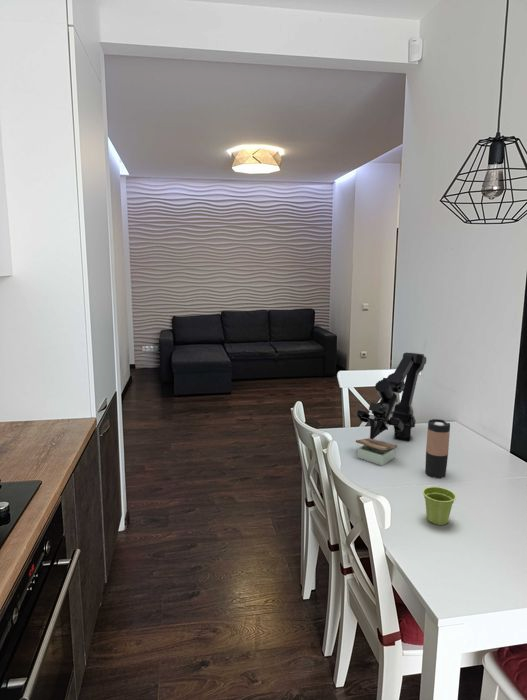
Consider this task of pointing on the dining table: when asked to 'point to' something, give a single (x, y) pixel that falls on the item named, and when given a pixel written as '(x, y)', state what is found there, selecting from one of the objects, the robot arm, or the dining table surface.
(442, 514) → the plant pot
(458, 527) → the dining table surface
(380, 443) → the lid
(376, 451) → the pale green open box
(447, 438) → the travel mug
